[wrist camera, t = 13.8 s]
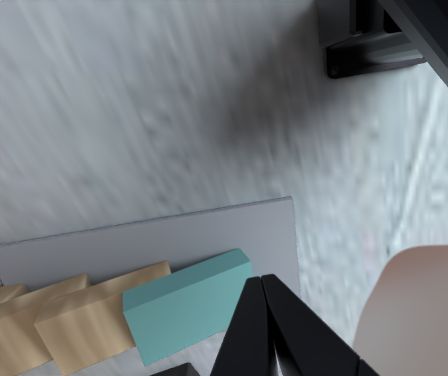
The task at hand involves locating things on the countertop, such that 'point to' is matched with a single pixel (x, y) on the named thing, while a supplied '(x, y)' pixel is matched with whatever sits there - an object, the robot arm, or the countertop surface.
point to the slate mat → (161, 246)
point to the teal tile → (185, 305)
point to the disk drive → (179, 371)
